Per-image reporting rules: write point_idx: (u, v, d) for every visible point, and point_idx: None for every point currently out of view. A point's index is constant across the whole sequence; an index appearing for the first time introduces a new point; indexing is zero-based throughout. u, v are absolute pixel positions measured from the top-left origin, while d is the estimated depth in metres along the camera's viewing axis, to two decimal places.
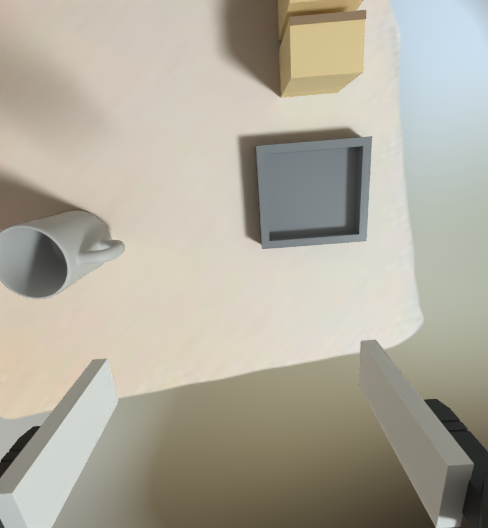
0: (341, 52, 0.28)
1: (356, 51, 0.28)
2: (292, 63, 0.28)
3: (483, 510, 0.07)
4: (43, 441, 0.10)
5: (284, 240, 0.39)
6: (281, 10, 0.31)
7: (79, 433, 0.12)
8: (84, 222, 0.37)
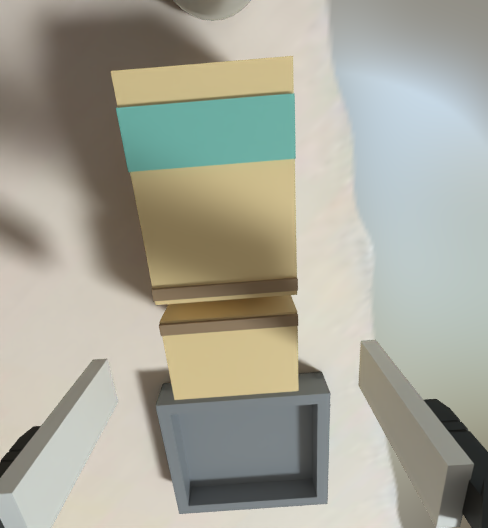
0: (259, 367, 0.16)
1: (285, 365, 0.16)
2: (174, 381, 0.16)
3: (483, 510, 0.07)
4: (43, 441, 0.10)
5: (210, 503, 0.27)
6: None
7: (79, 433, 0.12)
8: None
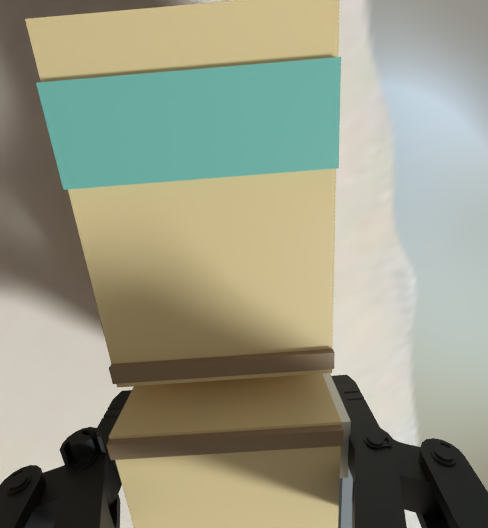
0: (275, 501, 0.10)
1: (318, 499, 0.10)
2: (137, 521, 0.10)
3: (355, 465, 0.09)
4: None
5: None
6: None
7: None
8: None
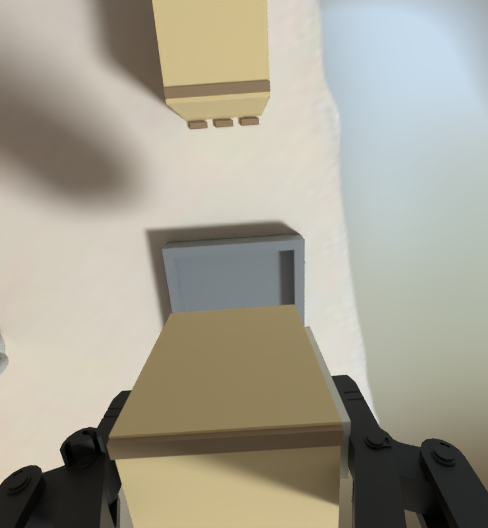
0: (275, 501, 0.10)
1: (318, 498, 0.10)
2: (137, 520, 0.10)
3: (355, 465, 0.09)
4: None
5: None
6: None
7: None
8: None
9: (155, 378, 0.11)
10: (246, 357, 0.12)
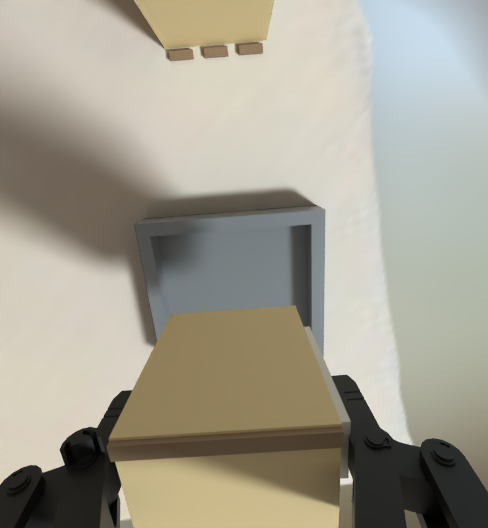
0: (275, 503, 0.10)
1: (318, 500, 0.10)
2: (137, 522, 0.10)
3: (355, 465, 0.09)
4: None
5: None
6: None
7: None
8: None
9: (155, 379, 0.11)
10: (247, 358, 0.12)
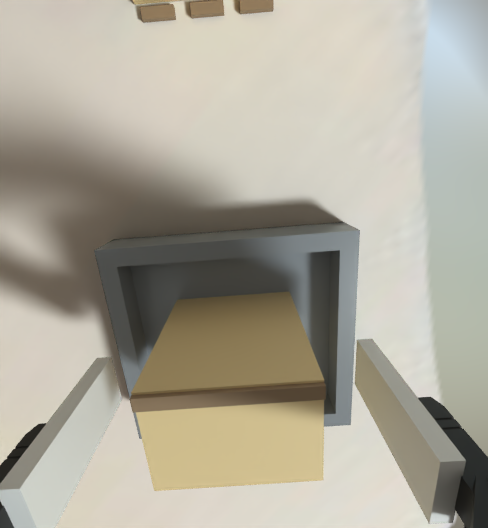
0: (270, 450, 0.12)
1: (306, 448, 0.12)
2: (153, 468, 0.12)
3: (475, 506, 0.08)
4: (49, 438, 0.10)
5: None
6: None
7: (84, 430, 0.12)
8: None
9: (167, 350, 0.13)
10: (246, 333, 0.14)
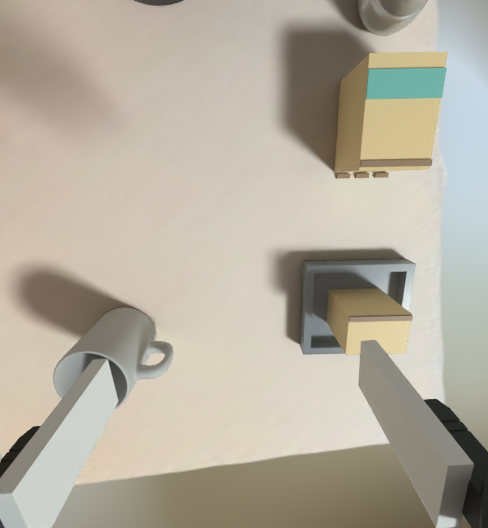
0: (389, 340, 0.33)
1: (401, 339, 0.34)
2: (348, 345, 0.34)
3: (483, 510, 0.07)
4: (43, 441, 0.10)
5: (324, 347, 0.41)
6: (342, 156, 0.33)
7: (79, 433, 0.12)
8: (136, 327, 0.38)
9: (347, 305, 0.35)
10: (373, 302, 0.36)
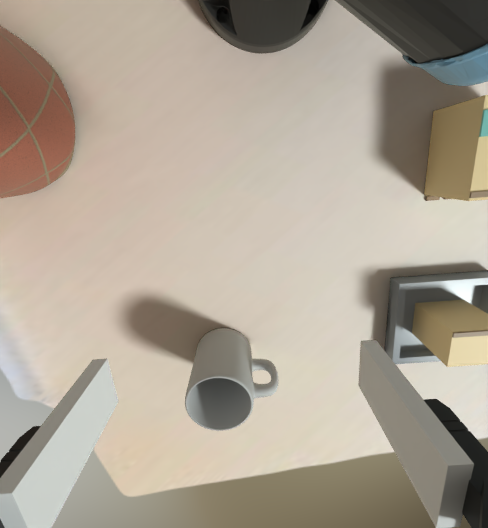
0: None
1: None
2: (450, 358, 0.36)
3: (483, 510, 0.07)
4: (43, 441, 0.10)
5: (412, 357, 0.44)
6: (439, 182, 0.36)
7: (79, 433, 0.12)
8: (241, 348, 0.41)
9: (444, 321, 0.37)
10: (467, 315, 0.38)
